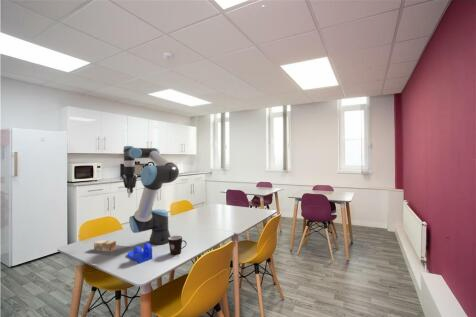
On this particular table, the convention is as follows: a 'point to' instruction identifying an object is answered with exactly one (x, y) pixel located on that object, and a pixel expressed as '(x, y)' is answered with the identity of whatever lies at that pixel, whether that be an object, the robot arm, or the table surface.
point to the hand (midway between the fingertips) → (130, 197)
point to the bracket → (141, 253)
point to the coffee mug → (175, 244)
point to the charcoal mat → (113, 253)
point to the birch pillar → (105, 245)
